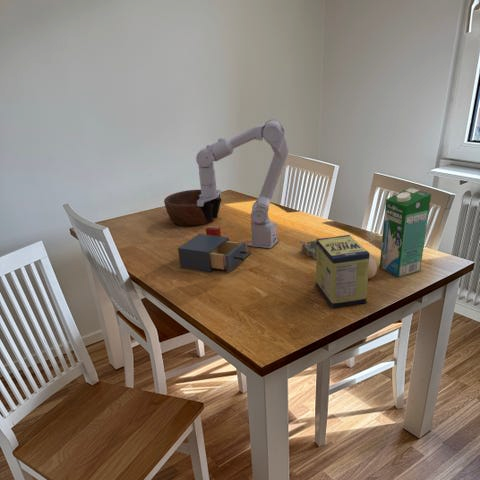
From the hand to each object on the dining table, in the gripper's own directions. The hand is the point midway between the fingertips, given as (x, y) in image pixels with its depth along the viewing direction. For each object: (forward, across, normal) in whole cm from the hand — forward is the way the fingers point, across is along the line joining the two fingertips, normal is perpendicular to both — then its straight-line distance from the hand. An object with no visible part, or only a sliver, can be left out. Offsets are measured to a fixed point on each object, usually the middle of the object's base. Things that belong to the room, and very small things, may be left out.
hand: (211, 219), depth 173 cm
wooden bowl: (+11, -25, -25) cm, 37 cm away
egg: (+11, +10, +62) cm, 64 cm away
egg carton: (+11, -4, +40) cm, 42 cm away
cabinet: (+10, +15, +5) cm, 19 cm away
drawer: (+10, +15, +15) cm, 23 cm away
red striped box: (+10, 0, 0) cm, 10 cm away
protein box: (+11, +23, +57) cm, 62 cm away
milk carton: (+11, 0, +70) cm, 71 cm away
